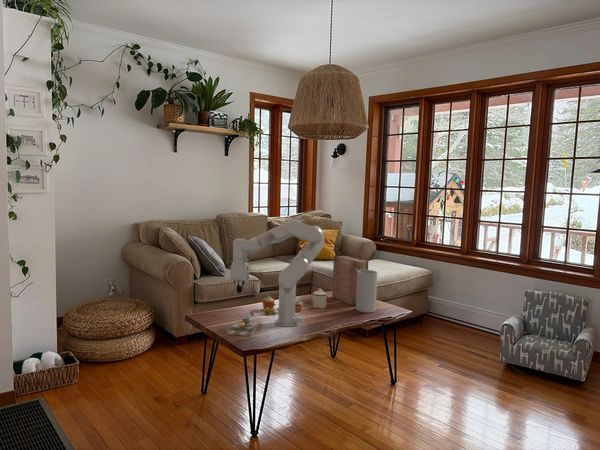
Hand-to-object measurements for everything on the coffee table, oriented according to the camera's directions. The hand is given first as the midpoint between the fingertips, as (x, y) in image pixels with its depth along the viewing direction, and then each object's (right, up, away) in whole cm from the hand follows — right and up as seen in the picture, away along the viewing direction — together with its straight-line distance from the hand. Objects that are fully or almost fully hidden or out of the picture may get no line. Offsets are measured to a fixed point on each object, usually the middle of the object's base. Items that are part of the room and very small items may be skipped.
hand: (239, 292), depth 263 cm
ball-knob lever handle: (+5, -16, -8) cm, 18 cm away
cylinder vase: (+76, -16, +33) cm, 85 cm away
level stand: (+4, -18, -13) cm, 23 cm away
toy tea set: (+23, -16, +26) cm, 38 cm away
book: (+68, -14, +54) cm, 88 cm away
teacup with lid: (+46, -15, +39) cm, 62 cm away
